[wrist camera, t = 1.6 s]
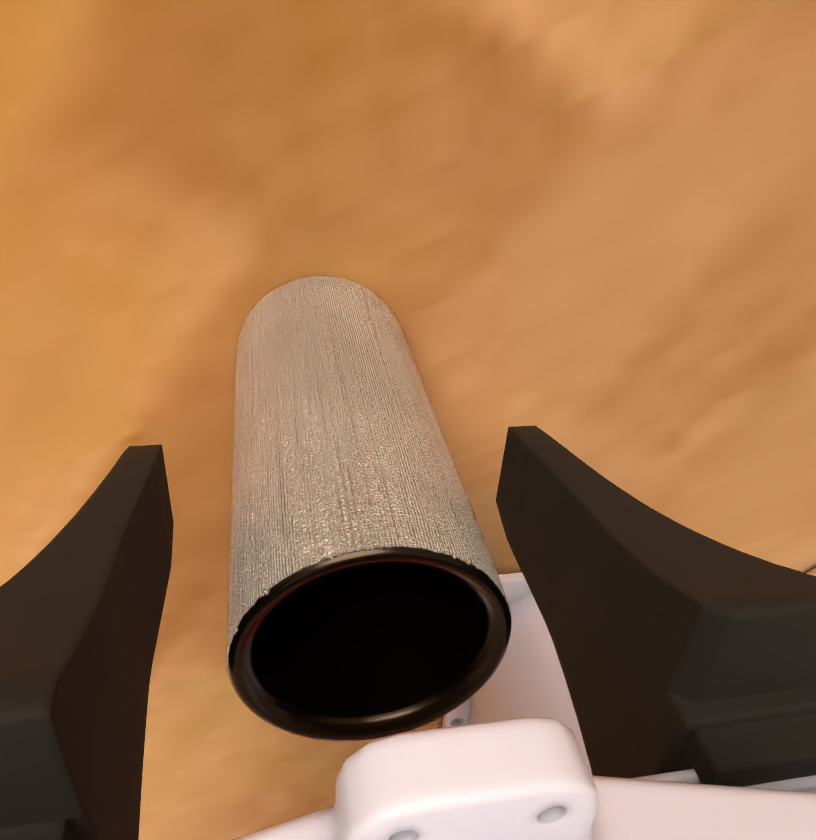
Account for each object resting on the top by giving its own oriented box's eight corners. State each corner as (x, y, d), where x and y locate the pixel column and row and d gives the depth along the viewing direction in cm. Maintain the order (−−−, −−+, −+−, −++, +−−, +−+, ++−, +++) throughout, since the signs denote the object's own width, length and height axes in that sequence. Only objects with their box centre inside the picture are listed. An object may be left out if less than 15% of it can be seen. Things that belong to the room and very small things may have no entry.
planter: (346, 239, 18) (430, 498, 10) (431, 367, 21) (557, 661, 12) (200, 333, 19) (160, 652, 10) (300, 446, 21) (333, 777, 13)
